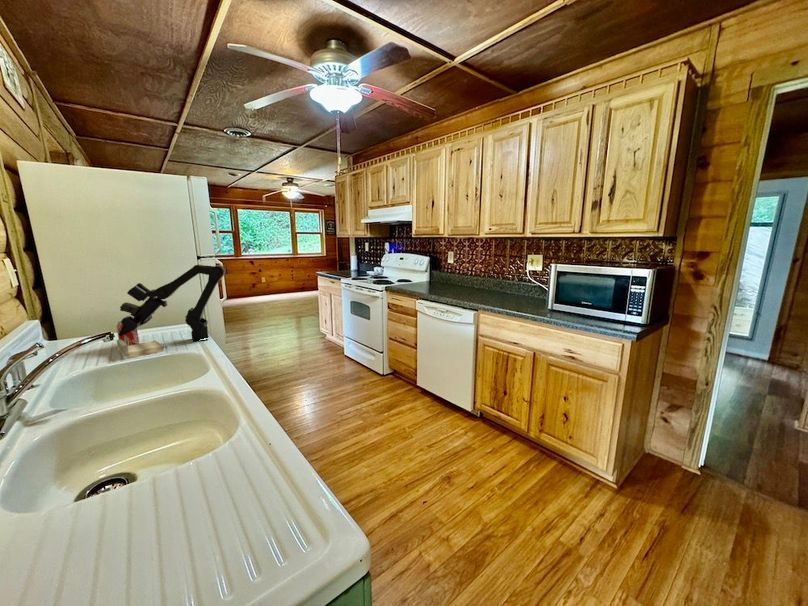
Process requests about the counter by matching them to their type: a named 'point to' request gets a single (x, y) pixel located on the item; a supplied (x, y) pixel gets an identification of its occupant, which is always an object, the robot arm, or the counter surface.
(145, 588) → the counter surface
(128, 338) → the soda can
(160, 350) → the cleat stand
